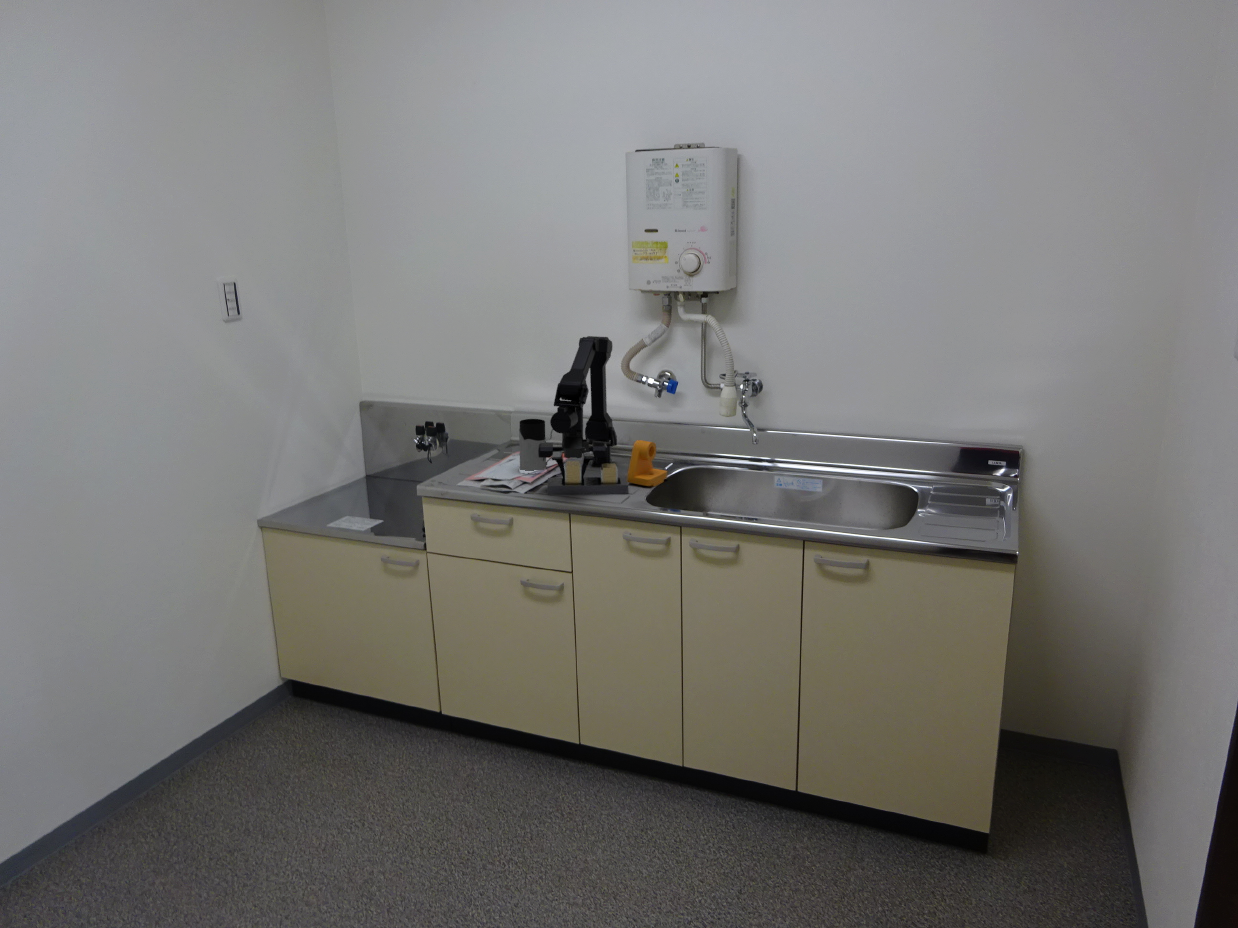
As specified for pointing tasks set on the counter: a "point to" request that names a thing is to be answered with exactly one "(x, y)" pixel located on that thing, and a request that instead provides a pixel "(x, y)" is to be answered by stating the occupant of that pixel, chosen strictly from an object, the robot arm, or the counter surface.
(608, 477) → the tan-capped ribbed block
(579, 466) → the gold metal block
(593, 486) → the tray
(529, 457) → the glass holder
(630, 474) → the bracket
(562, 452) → the robot arm
